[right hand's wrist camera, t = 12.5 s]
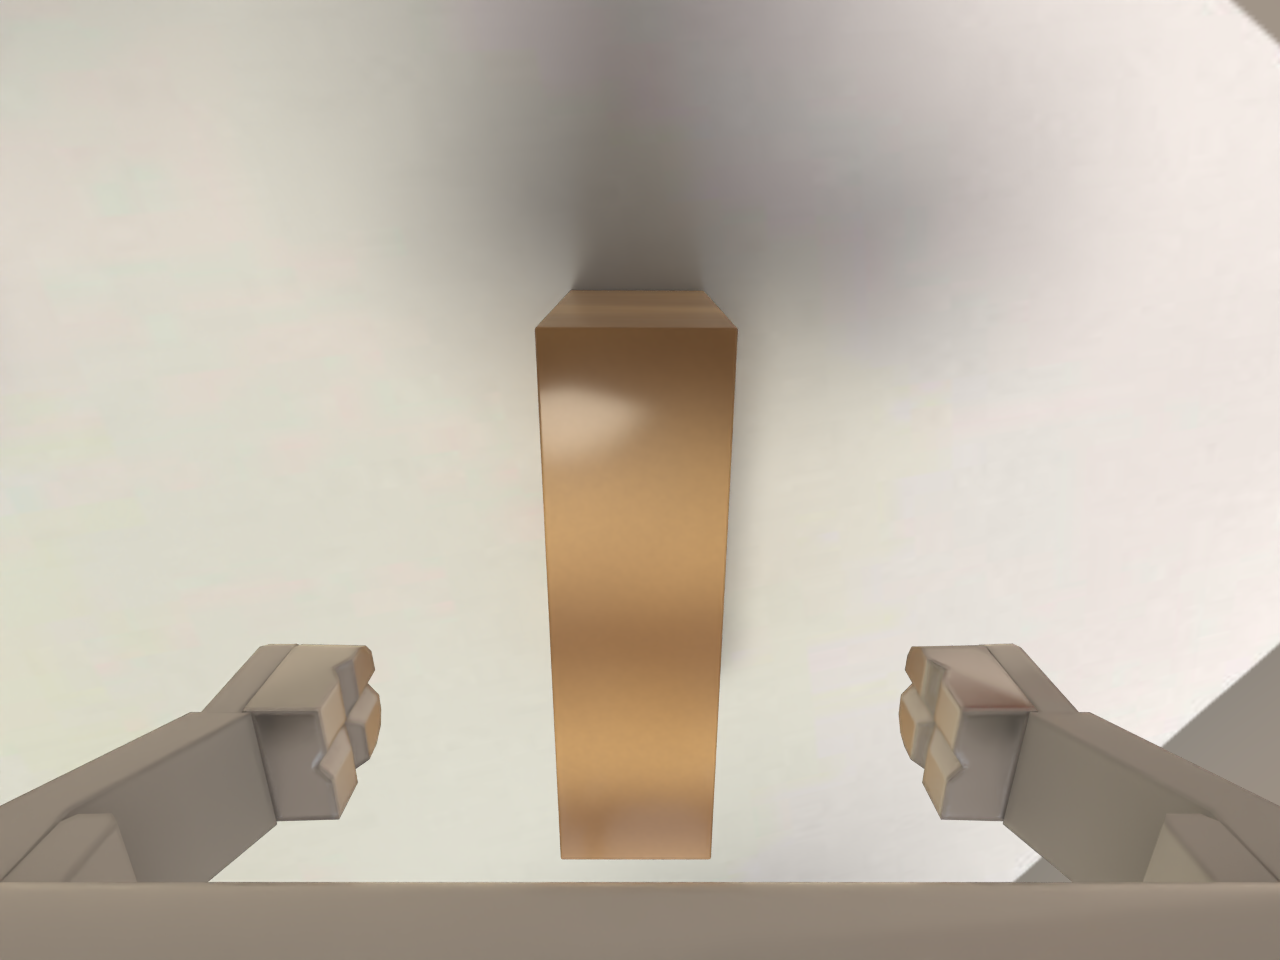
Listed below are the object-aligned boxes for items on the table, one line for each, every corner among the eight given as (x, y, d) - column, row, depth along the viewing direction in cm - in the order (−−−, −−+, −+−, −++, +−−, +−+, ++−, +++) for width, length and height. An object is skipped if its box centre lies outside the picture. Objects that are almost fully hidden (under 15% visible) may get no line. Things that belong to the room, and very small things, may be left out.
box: (569, 290, 30) (534, 327, 20) (704, 290, 30) (738, 327, 20) (581, 682, 37) (560, 860, 27) (690, 683, 37) (710, 860, 27)
